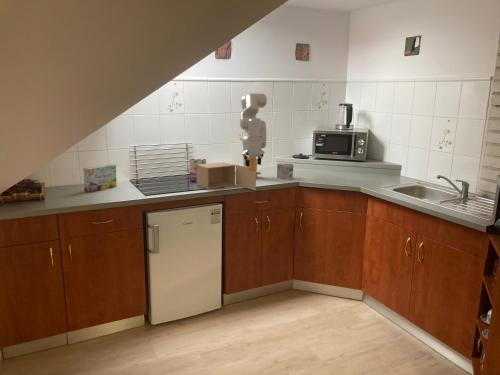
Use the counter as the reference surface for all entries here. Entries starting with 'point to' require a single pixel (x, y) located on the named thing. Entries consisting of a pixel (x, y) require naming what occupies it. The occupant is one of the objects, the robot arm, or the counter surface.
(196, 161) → the candy bar box
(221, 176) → the carton
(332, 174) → the counter surface
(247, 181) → the flap
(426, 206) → the counter surface
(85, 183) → the snack box
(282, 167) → the light bulb box
